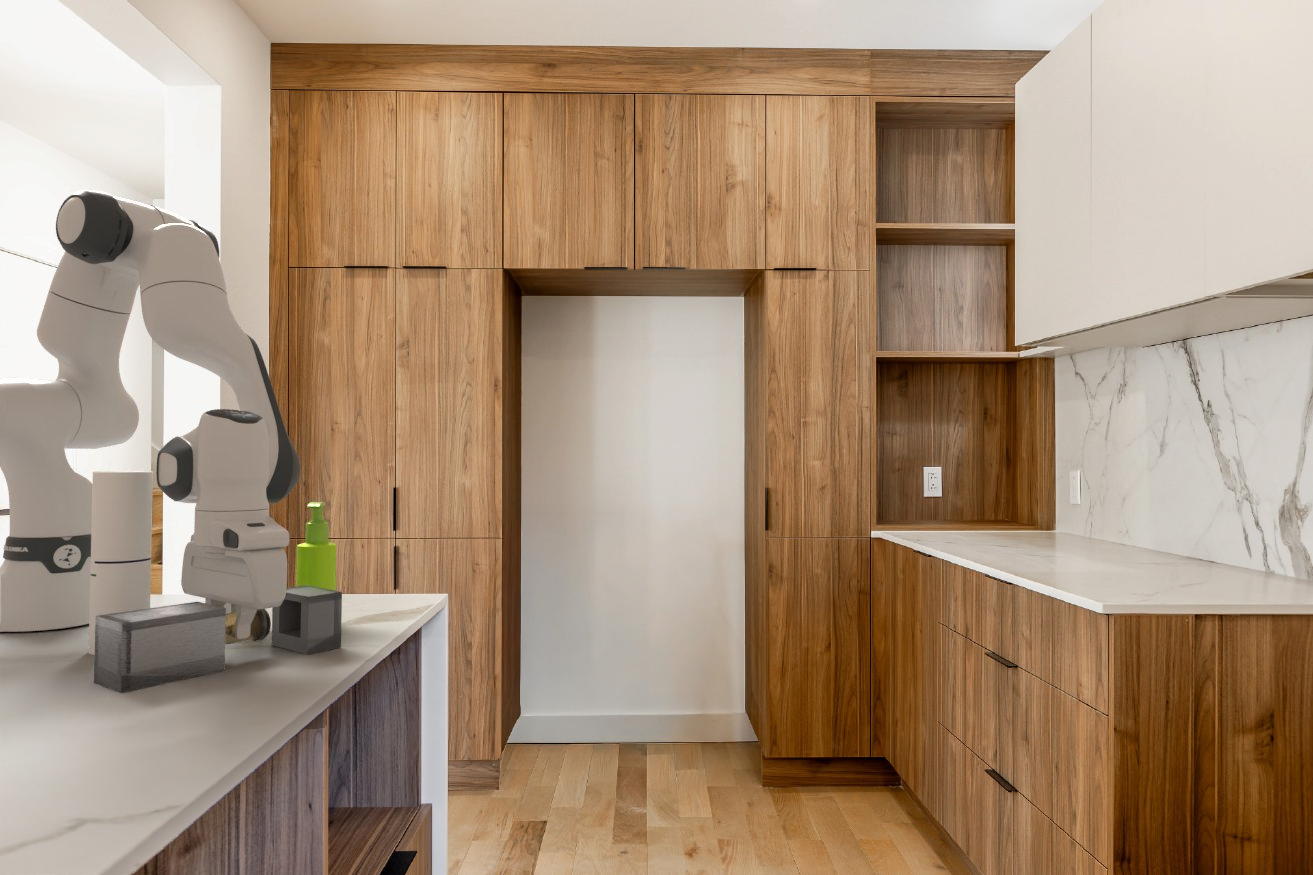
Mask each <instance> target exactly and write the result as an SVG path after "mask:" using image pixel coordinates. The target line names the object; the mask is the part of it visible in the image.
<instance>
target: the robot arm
mask: <svg viewBox="0 0 1313 875" xmlns="http://www.w3.org/2000/svg"><path fill="white" fill-rule="evenodd" d="M55 234H56V237H57V240H58V242H59V244H60V245H61V247H62V249H63V250H64V253H63V255H62V257H61V259H60V260H59V261H60V262H59V263H58V265H57V267H56V270H55V272H54V275H53V278H52V280H51V284H50V285H49V286H50V287H49V290H48V291H47V292H48V293H47V296H46V299H45V302H44V305H43V308H42V311H41V316H40V318H39V321H38V326H37V328H36V336H37V339H38V342H39V343H40V345H41V346H42V347H43V349H44V350H45V351H46V352H48V353H49V354H50V355H51V356H52V357H54V358H55V359H56V360H57V362H58V374H57V377H56V379H55V380H53V379H40V378H28V377H27V378H26V377H18V376H17V377H15V376H14V377H4V378H3V377H2V378H0V470H1V471H2V474H3V476H4V478H5V481H6V485H7V492H8V502H9V503H8V505H9V536H7V537H6V539H5V544H4V545H3V555H2V558H3V559H4V561H3V563H2V565H1V566H0V633H2V632H4V633H5V632H9V633H10V632H17V633H18V632H33V631H34V632H35V631H37V632H38V631H39V632H40V631H49V630H50V631H51V630H58V629H66V628H73V627H79V626H85V625H89V613H90V575H91V530H92V485H93V482H92V481H90V480H89V479H88V478H87V477H85V476H84V475H82V474H79V473H77V472H75V471H74V469H73V468H72V467H71V465H70V463H69V461H68V459H67V456H66V455H67V454H66V451H65V449H67V450H68V449H80V450H81V449H83V450H84V449H85V450H88V449H90V450H91V449H92V450H95V449H101V448H107V447H111V446H112V447H113V446H116V445H120V444H123V443H126V442H127V441H128V440H130V439H131V438H132V437H133V435H134V434H135V433H136V430H137V428H138V426H139V421H140V413H139V409H138V408H139V407H138V405H137V403H136V402H135V399H134V398H133V397H132V396H131V395H130V394H129V392H128V391H127V390H126V389H125V387H124V384H123V382H122V378H121V373H120V354H121V349H122V345H123V340H124V337H125V333H126V331H127V327H128V323H129V320H130V317H131V313H132V310H133V308H134V307H133V306H134V303H135V299H136V294H137V291H138V288H139V293H140V304H141V313H142V318H143V322H144V326H145V329H146V331H147V333H148V335H149V336H150V338H151V339H152V340H153V341H154V342H155V343H156V345H158V346H159V347H160V348H162V349H163V350H164V351H166V352H168V353H169V354H170V355H172V356H175V357H176V358H178V359H181V360H183V361H186V362H188V363H191V364H194V365H197V366H198V367H201V368H202V369H205V370H207V371H208V372H210V373H213V374H214V375H216V376H218V377H219V378H220V379H222V380H223V381H225V382H226V383H227V384H228V385H229V386H230V388H231V389H232V390H233V392H234V395H235V397H236V401H237V404H238V408H239V409H229V408H228V409H226V408H224V409H223V408H220V409H219V408H217V409H211V410H207V411H205V412H203V413H202V414H201V417H200V418H199V423H198V424H197V425H198V426H197V427H195V428H193V429H192V430H191V431H190V432H188V433H185V434H184V435H183V434H182V435H181V436H178V435H177V436H174V437H173V438H172V439H170V440H169V441H167V442H166V444H165V445H163V447H161V449H160V450H159V451H158V452H157V458H156V472H155V473H156V482H157V483H156V484H157V487H158V488H159V489H160V490H161V492H162V493H164V494H165V495H166V496H167V497H168V498H169V499H171V500H172V501H174V502H180V503H183V504H195V507H194V523H193V524H194V526H193V527H194V530H193V534H191V536H190V541H189V542H187V544H186V545H185V548H184V552H183V558H182V559H183V560H182V567H181V568H182V570H181V580H180V582H181V583H180V585H181V589H182V592H183V593H184V594H185V595H189V596H194V597H198V598H204V599H205V603H206V604H211V605H215V606H220V607H224V605H225V604H226V603H230V604H234V605H235V612H236V613H238V614H237V618H236V622H235V624H232V626H231V630H232V633H231V635H232V637H234V638H237V639H243V638H248V637H249V636H250V629H251V623H252V621H253V618H254V616H255V614H256V612H257V609H266V610H267V609H272V608H273V607H278V606H280V605H281V604H282V602H283V601H284V599H285V596H286V588H287V583H288V557H287V553H286V551H285V550H284V548H287V547H288V546H289V544H290V533H289V531H288V530H287V529H286V528H285V527H283V526H282V525H280V524H279V523H278V522H276V521H275V520H274V518H273V517H271V516H270V504H271V505H275V504H277V503H279V502H280V501H282V500H284V499H285V498H286V497H287V496H289V494H290V493H291V492H292V491H293V490H294V489H295V487H296V486H297V484H298V482H299V480H300V478H301V464H300V463H301V461H300V458H299V455H298V452H297V450H296V449H295V446H294V444H293V442H292V440H291V439H290V437H289V434H288V432H287V430H286V426H285V424H284V421H283V417H282V415H281V411H280V408H279V405H278V401H277V398H276V394H275V391H274V389H273V385H272V382H271V378H270V376H269V375H270V374H269V373H268V369H267V366H266V364H265V360H264V358H263V355H262V353H261V350H260V348H259V346H258V344H257V343H256V340H255V339H254V338H252V337H251V336H250V335H248V334H247V333H246V332H245V331H244V330H243V329H242V327H241V326H240V325H239V323H238V322H237V320H236V318H235V316H234V315H233V312H232V309H231V307H230V304H229V300H228V293H227V288H226V286H227V285H226V281H225V276H224V272H223V268H222V265H221V264H222V263H221V261H220V247H219V242H218V239H217V237H216V235H215V234H214V232H213V231H211V230H209V229H208V228H207V227H206V226H204V225H202V224H200V223H199V222H197V221H195V220H193V219H186V218H184V217H182V216H180V215H178V214H175V213H173V212H170V211H169V210H166V209H163V208H160V207H158V206H155V205H152V204H145V203H142V202H138V201H135V200H134V201H133V200H130V199H126V198H123V197H117V196H114V195H112V194H111V193H108V192H105V191H99V190H92V189H91V190H88V189H79V190H77V191H75V192H74V193H72V194H71V195H69V196H68V197H66V198H65V200H64V201H63V203H62V204H61V205H60V207H59V209H58V213H57V216H56V221H55Z"/></svg>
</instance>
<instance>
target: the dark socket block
mask: <svg viewBox="0 0 1313 875" xmlns="http://www.w3.org/2000/svg"><path fill="white" fill-rule="evenodd" d="M342 601H343V591H342V590H341V591H340V590H336V591H335V590H330V589H324V588H318V587H313V586H307V585H304V586H297V587H296V586H291V587H290V586H289V587H286V596H285V599H284V601H283V602H282V604H281V605H280V606H278V607H273V608H271V610H272V611H271V612H272V613H271V616H272V617H271V618H272V619H271V646H273V647H277V648H281V649H284V650H288V651H293V652H295V653H296V652H297V653H299V654H303V655H304V654H305V655H312V654H313V655H314V654H317V653H322V652H327V651H332V650H335V649H341V648H342V617H343V616H342V612H343V610H342V608H343V607H342V606H343V604H342V603H343V602H342ZM340 647H341V648H340ZM331 649H332V650H331Z"/></svg>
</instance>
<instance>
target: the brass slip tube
mask: <svg viewBox="0 0 1313 875" xmlns="http://www.w3.org/2000/svg"><path fill="white" fill-rule="evenodd" d="M237 614H238V613H236V612H233V613H227V614H226V629H225V646H226V645H230V644H236V643H240V642H241V643H242V642H246V641H253V642H258V641H263V640H265V638H266V637H268V635H269V633H270V631H271V628H272V620H271V615H270V613H269V611H267V609H257V612H256V614H255V616H254V618H253V621H252V623H251V629H250V636H249V637H248V638H243V639H237V638H234V637H232V635H231V633H232V630H231V626H232V624H235V622H236V618H237Z"/></svg>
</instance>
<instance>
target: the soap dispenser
mask: <svg viewBox="0 0 1313 875" xmlns="http://www.w3.org/2000/svg"><path fill="white" fill-rule="evenodd" d="M325 506H326V502H325V501H310V502H308V504H307V506H306V508H307V510H308V509H311V520H309V521H307V522H306V523H305V542H303V543H300V544H297V545H296V568H295V569H296V572H295V573H296V574H295V575H296V578H295V580H296V581H295V584H296V585H295V587H297V586H304V585H307V586H313V587H318V588H324V589H330V590H335V591H337V590H336V584H337V582H336V581H337V580H336V579H337V576H336V575H337V543H334V542H331V541H329V522H327V521H326V520H324V507H325Z"/></svg>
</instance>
